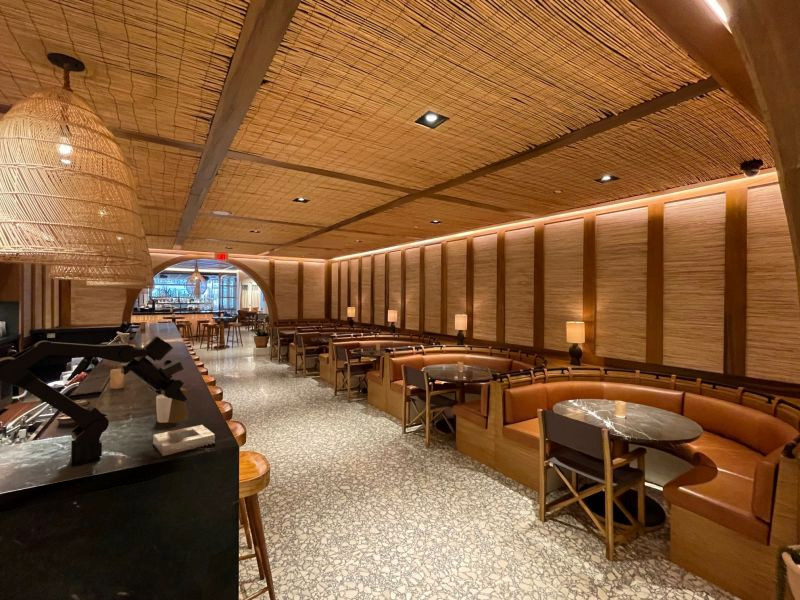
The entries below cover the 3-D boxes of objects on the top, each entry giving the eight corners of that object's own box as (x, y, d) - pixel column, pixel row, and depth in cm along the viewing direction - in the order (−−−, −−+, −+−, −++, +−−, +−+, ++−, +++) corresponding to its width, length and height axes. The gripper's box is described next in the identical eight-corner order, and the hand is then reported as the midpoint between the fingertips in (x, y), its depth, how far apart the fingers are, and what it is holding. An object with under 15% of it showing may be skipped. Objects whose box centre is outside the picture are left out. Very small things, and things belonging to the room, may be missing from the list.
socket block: (162, 455, 112) (163, 446, 112) (153, 443, 122) (153, 434, 122) (214, 443, 122) (214, 434, 122) (201, 433, 132) (202, 424, 132)
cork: (182, 422, 125) (183, 390, 125) (164, 423, 124) (165, 390, 125) (191, 417, 131) (191, 386, 131) (173, 417, 130) (174, 387, 131)
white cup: (182, 419, 148) (182, 395, 148) (161, 424, 142) (161, 399, 142) (172, 416, 152) (173, 392, 153) (151, 421, 146) (152, 396, 146)
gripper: (177, 355, 119) (211, 384, 128) (158, 351, 131) (190, 377, 139) (149, 383, 113) (186, 411, 121) (131, 375, 125) (166, 402, 133)
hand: (182, 399), depth 129 cm, fingers closed on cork, 5 cm apart
